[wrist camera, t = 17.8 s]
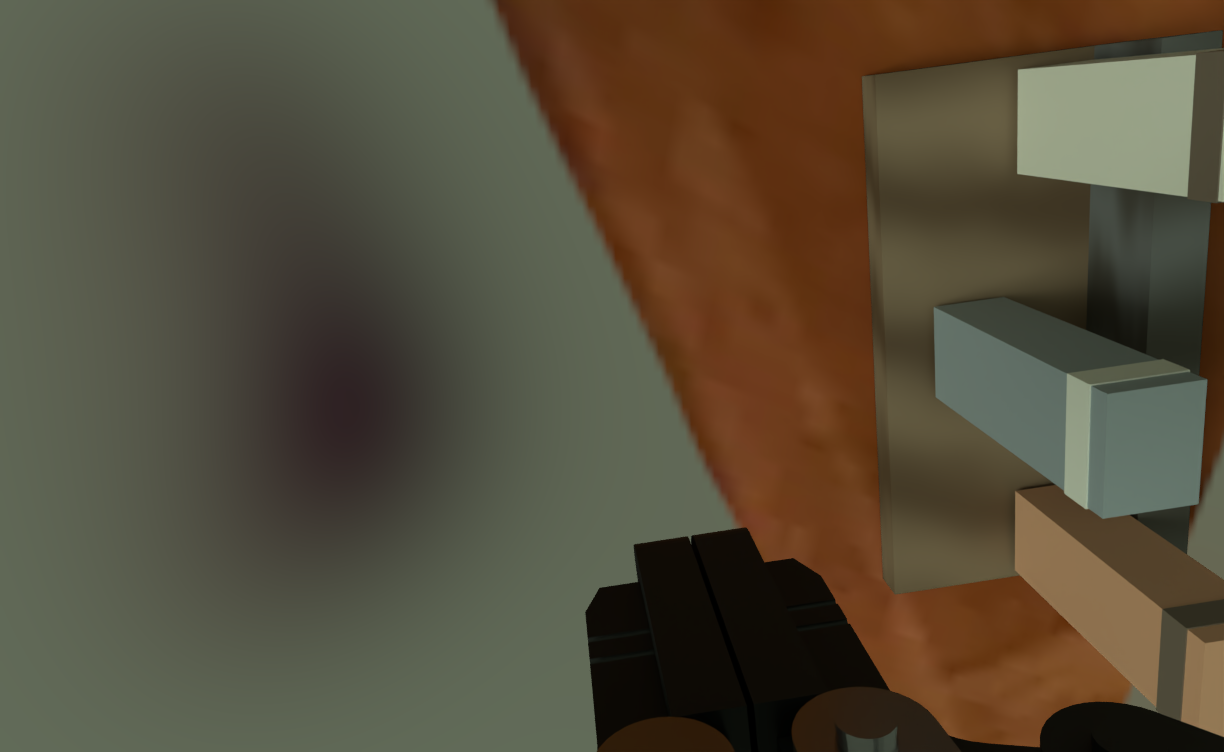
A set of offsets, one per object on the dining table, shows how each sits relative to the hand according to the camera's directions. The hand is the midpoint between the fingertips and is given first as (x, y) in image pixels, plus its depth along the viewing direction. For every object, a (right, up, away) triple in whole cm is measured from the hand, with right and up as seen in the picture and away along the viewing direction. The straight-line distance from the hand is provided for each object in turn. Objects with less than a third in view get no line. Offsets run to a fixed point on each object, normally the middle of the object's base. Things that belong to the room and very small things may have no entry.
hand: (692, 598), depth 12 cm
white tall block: (+16, +13, +24) cm, 32 cm away
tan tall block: (+19, -4, +29) cm, 35 cm away
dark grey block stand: (+16, +5, +28) cm, 33 cm away
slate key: (+14, +4, +26) cm, 30 cm away
